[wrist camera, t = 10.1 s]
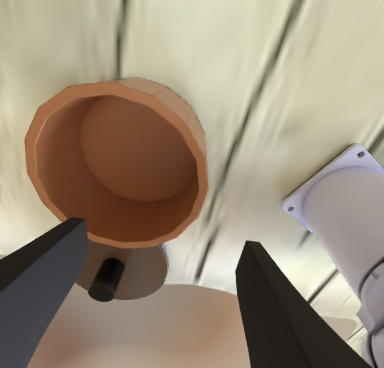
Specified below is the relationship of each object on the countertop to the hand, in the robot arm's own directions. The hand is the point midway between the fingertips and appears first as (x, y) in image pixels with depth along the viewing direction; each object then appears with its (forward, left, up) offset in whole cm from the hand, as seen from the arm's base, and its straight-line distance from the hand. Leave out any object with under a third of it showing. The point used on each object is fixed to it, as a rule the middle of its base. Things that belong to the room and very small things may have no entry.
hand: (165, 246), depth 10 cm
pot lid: (-2, +15, -10) cm, 18 cm away
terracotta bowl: (+3, +2, -10) cm, 11 cm away
